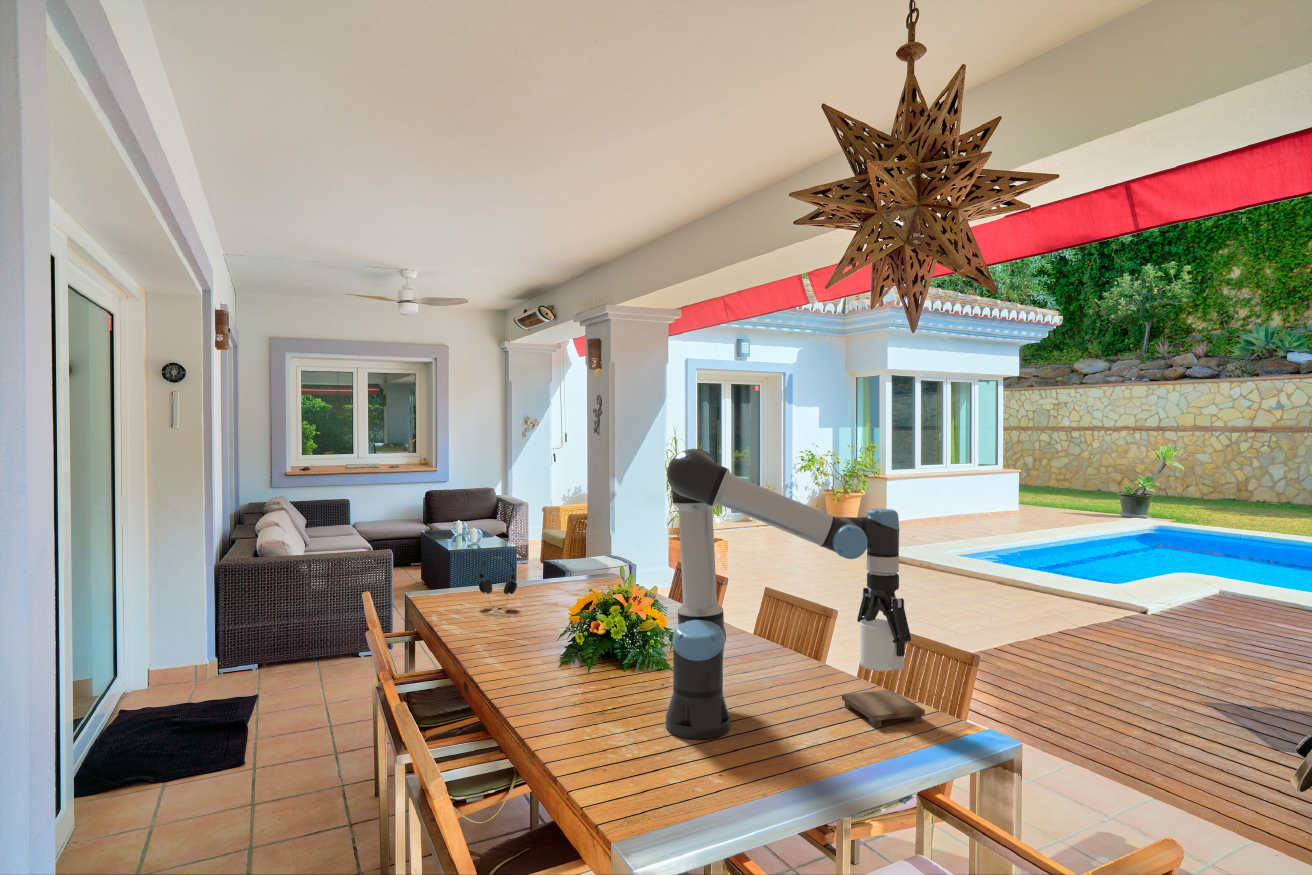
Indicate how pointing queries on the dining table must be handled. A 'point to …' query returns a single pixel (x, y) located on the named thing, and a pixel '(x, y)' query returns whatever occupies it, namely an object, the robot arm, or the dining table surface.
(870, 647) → the mug
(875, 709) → the stand
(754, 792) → the dining table surface
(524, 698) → the dining table surface
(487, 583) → the headphones
